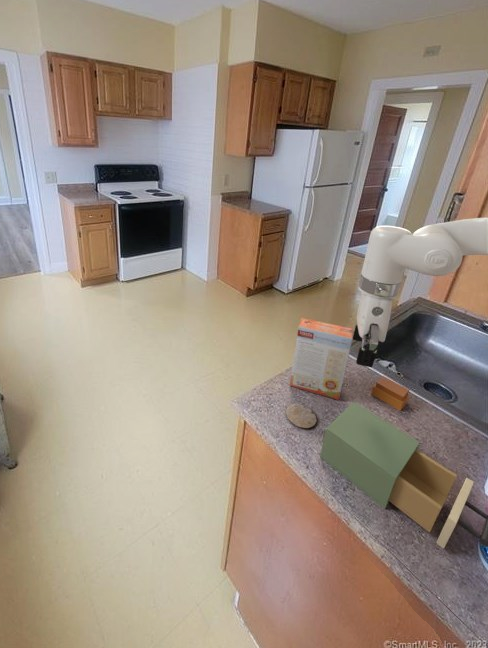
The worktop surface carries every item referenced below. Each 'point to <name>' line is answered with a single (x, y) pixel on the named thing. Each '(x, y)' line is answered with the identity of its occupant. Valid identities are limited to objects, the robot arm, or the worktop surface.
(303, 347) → the cracker box
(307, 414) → the flatbread
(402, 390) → the orange block
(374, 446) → the cabinet
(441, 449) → the worktop surface
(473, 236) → the robot arm
